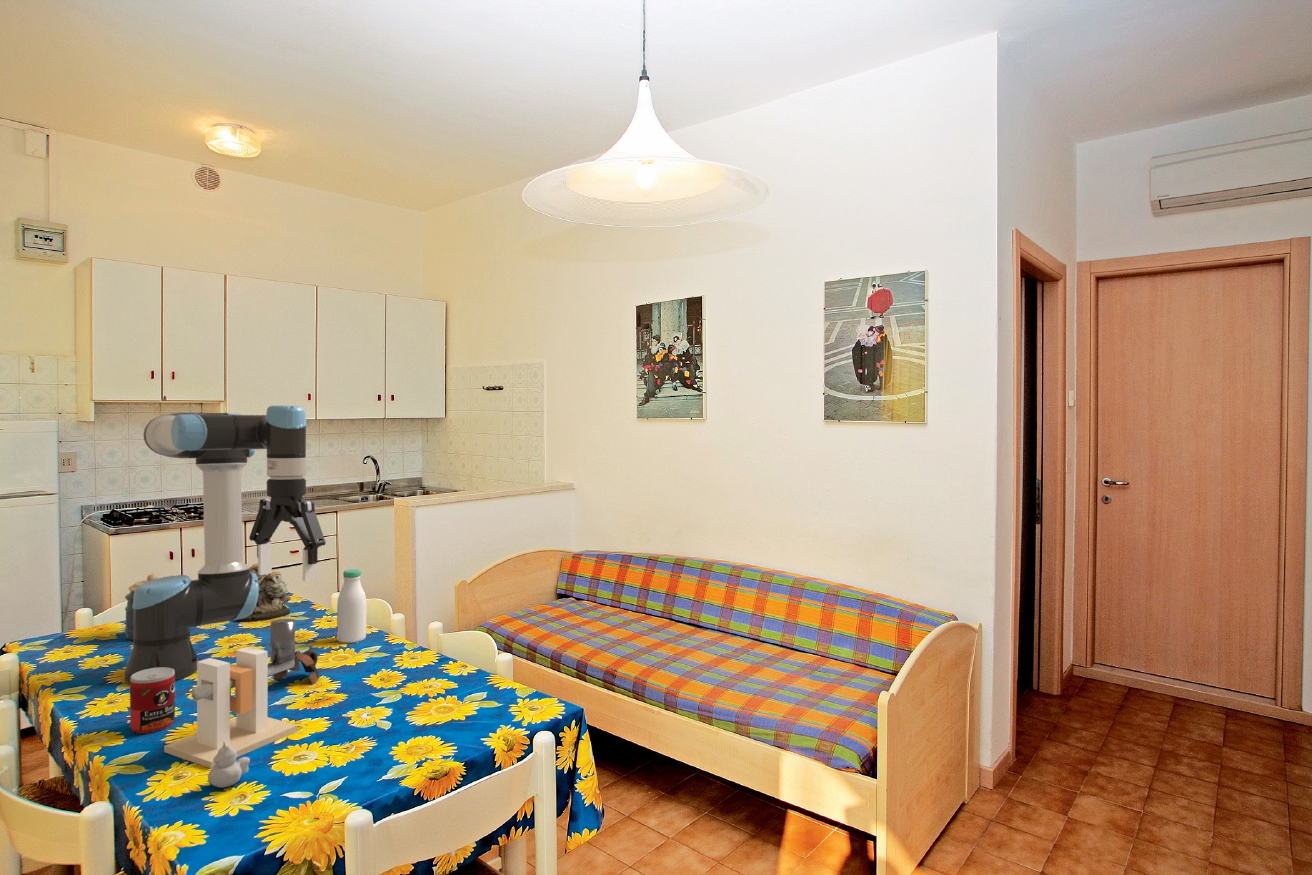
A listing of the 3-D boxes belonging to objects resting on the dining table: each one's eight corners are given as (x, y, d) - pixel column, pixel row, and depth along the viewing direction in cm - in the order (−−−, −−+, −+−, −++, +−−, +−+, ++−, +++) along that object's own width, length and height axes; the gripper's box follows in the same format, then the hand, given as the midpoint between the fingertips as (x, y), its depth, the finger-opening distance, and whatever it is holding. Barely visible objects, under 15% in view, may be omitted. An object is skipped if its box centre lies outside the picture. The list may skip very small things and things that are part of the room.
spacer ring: (213, 706, 146) (214, 666, 146) (225, 701, 148) (226, 662, 148) (240, 713, 142) (240, 673, 142) (252, 709, 145) (252, 669, 144)
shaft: (203, 702, 137) (203, 647, 137) (187, 698, 139) (187, 643, 139) (299, 668, 156) (299, 620, 156) (284, 665, 158) (285, 617, 158)
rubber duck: (203, 785, 128) (203, 740, 128) (243, 772, 133) (244, 728, 133) (214, 796, 125) (214, 749, 125) (255, 782, 130) (255, 737, 129)
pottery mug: (310, 691, 174) (291, 663, 172) (279, 705, 175) (259, 677, 173) (335, 661, 185) (317, 635, 183) (305, 675, 187) (286, 649, 185)
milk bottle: (371, 638, 213) (372, 569, 212) (348, 645, 206) (348, 574, 206) (355, 633, 217) (355, 566, 216) (331, 640, 210) (331, 570, 210)
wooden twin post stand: (164, 752, 140) (164, 664, 140) (251, 717, 157) (251, 638, 156) (211, 768, 134) (211, 676, 134) (297, 731, 150) (297, 649, 150)
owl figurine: (230, 625, 223) (230, 570, 222) (222, 617, 232) (222, 563, 231) (294, 615, 235) (294, 562, 234) (284, 608, 243) (284, 557, 243)
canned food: (141, 737, 146) (141, 682, 146) (122, 727, 151) (122, 674, 150) (182, 724, 153) (182, 671, 153) (163, 715, 157) (163, 664, 157)
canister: (168, 625, 222) (168, 567, 221) (187, 633, 214) (187, 573, 214) (117, 635, 211) (117, 574, 211) (135, 644, 204) (135, 581, 203)
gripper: (230, 476, 159) (231, 574, 159) (313, 480, 148) (313, 585, 149) (262, 474, 166) (262, 568, 166) (343, 478, 155) (343, 578, 155)
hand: (286, 576), depth 157 cm, fingers open, 13 cm apart
